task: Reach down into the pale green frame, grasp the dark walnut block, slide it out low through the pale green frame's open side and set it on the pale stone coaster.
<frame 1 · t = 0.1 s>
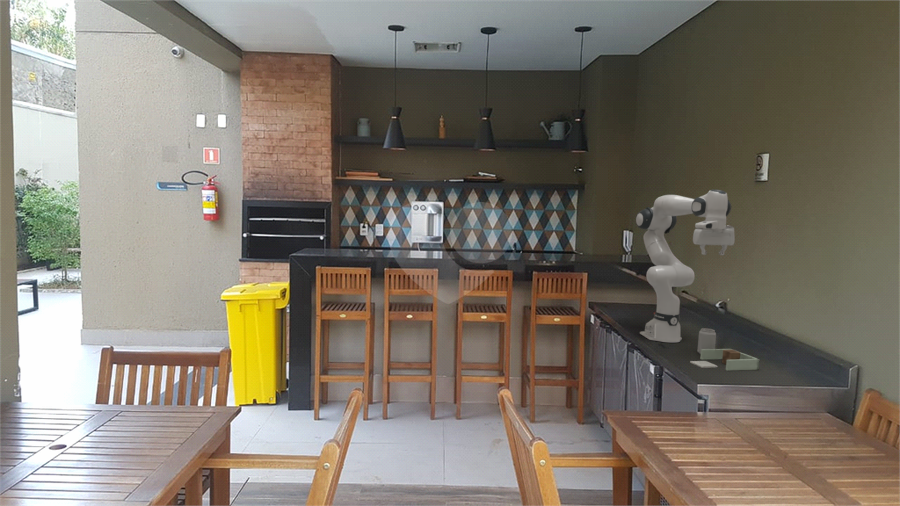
hand: (712, 254, 272), 48 cm above the counter, fingers open, 8 cm apart
can: (705, 354, 280), on the counter
pale green frame: (728, 364, 263), on the counter
block: (730, 364, 263), on the counter
coaster: (703, 364, 260), on the counter
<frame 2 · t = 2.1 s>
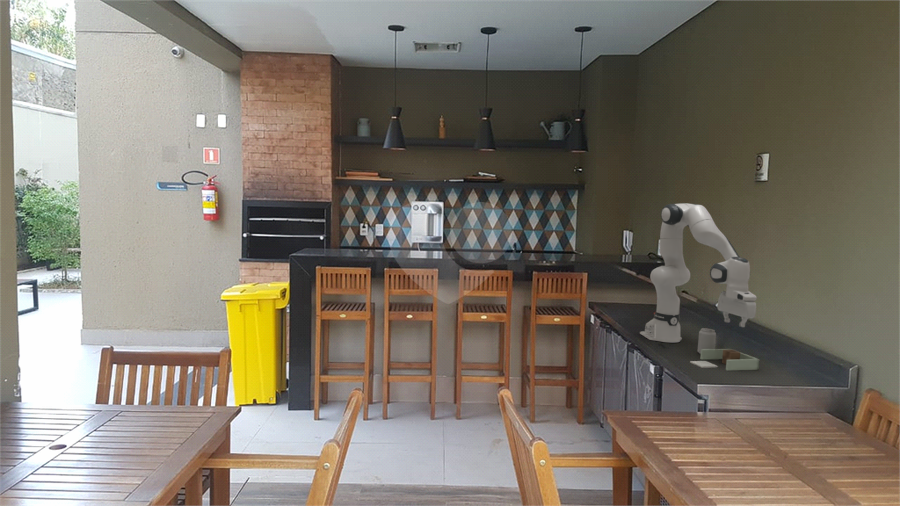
hand: (734, 324, 262), 18 cm above the counter, fingers open, 8 cm apart
nothing on the counter moved.
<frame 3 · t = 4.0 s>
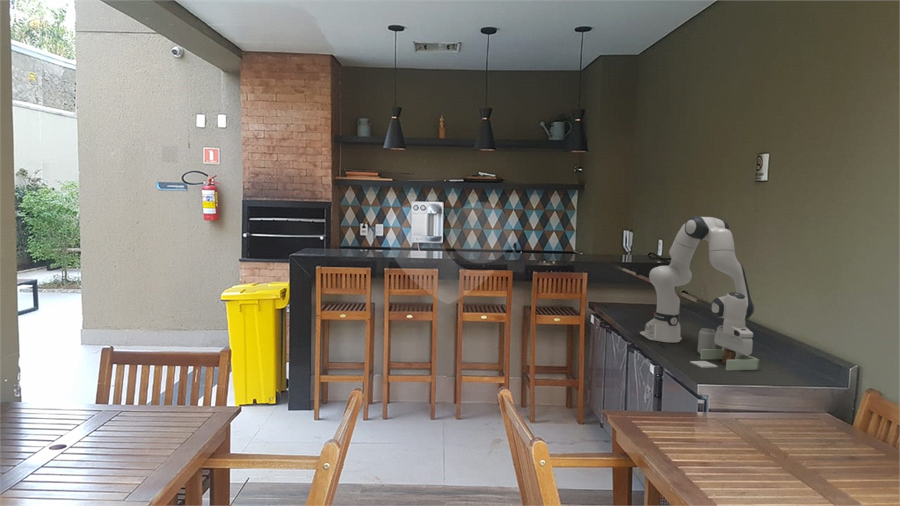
hand: (731, 359, 263), 2 cm above the counter, fingers closed on block, 5 cm apart
block: (730, 364, 263), on the counter, touching gripper
everything else where it was.
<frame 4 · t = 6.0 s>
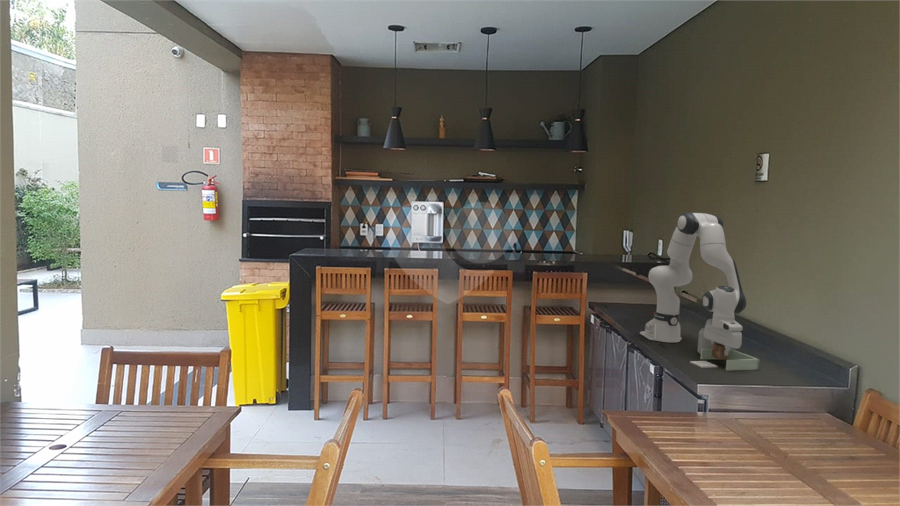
hand: (720, 353, 262), 5 cm above the counter, fingers closed on block, 5 cm apart
block: (719, 358, 262), point 3 cm above the counter, touching gripper
everything else where it was.
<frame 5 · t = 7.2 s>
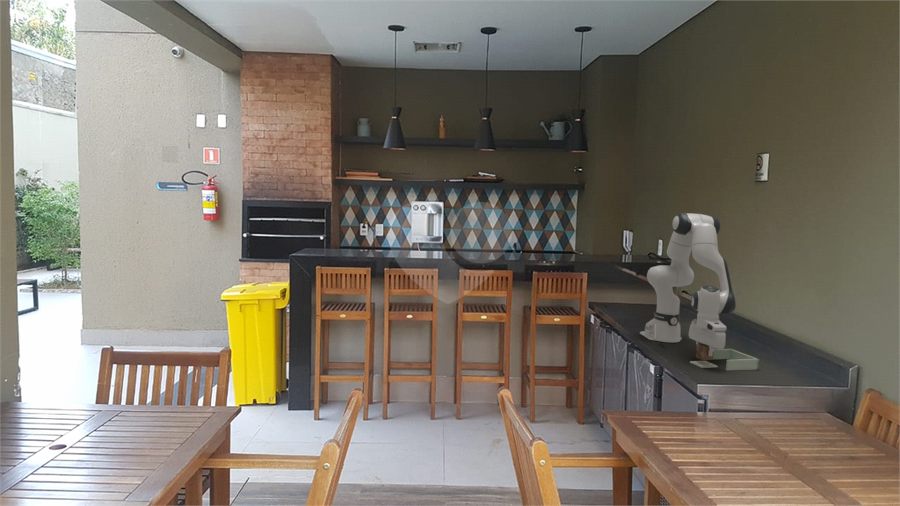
hand: (704, 353, 260), 5 cm above the counter, fingers closed on block, 5 cm apart
block: (704, 358, 260), point 3 cm above the counter, touching gripper
everything else where it was.
when the fingers open (3 cm above the counter, at t = 8.0 s): block stays where it is, resting on coaster.
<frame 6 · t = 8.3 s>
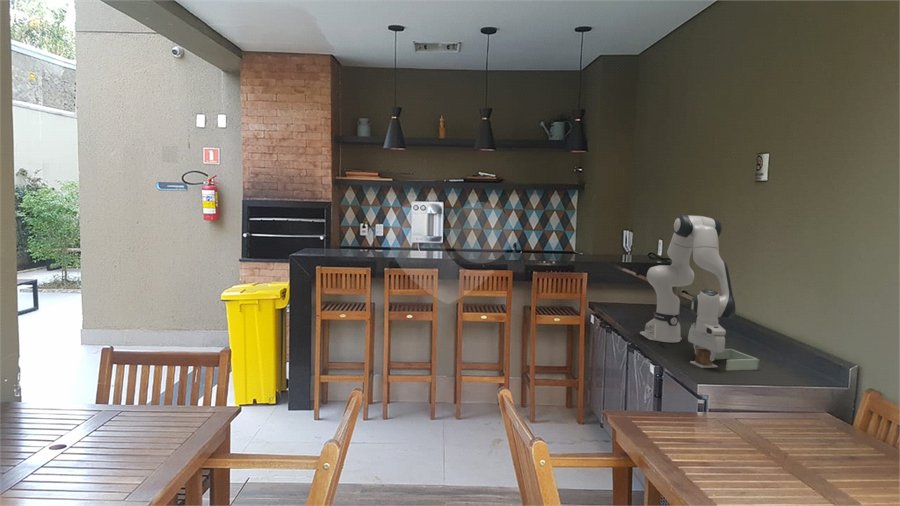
hand: (704, 357, 260), 3 cm above the counter, fingers open, 8 cm apart
block: (703, 363, 260), point 1 cm above the counter, touching coaster
everything else where it was.
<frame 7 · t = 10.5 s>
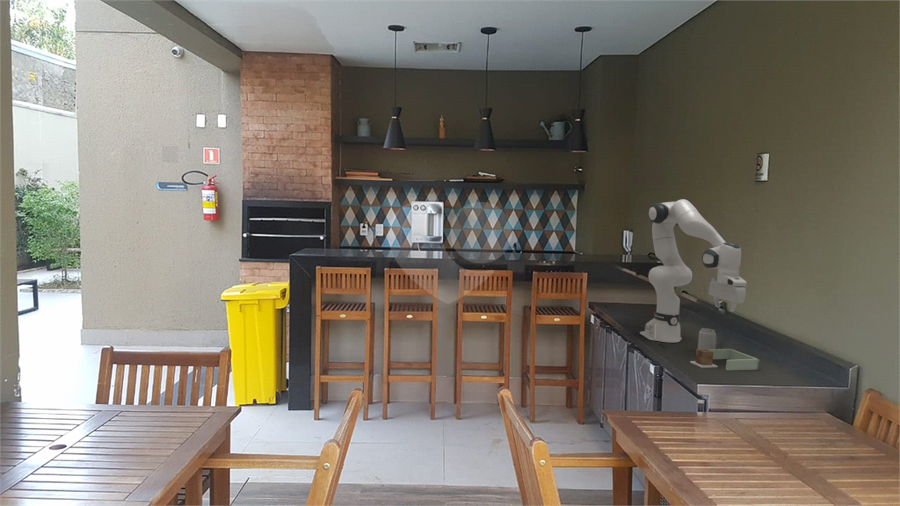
hand: (724, 309, 265), 24 cm above the counter, fingers open, 8 cm apart
nothing on the counter moved.
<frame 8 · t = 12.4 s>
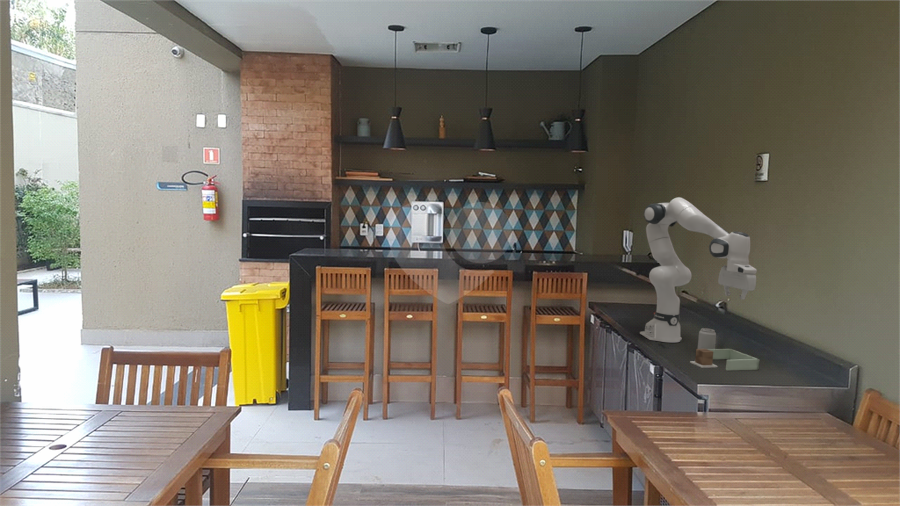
hand: (734, 297, 269), 29 cm above the counter, fingers open, 8 cm apart
nothing on the counter moved.
at the end: block inside the target area on the coaster (0.1 cm from its centre), point 0.6 cm above the coaster's base; block tilted 0°; the gripper is holding nothing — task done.
